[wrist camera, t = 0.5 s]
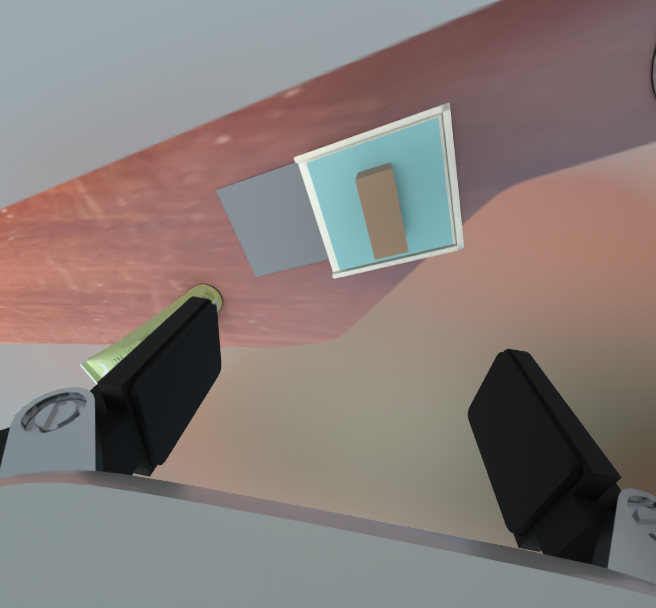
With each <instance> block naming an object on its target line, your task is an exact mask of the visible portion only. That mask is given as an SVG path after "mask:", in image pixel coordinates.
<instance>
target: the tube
mask: <svg viewBox="0 0 656 608" xmlns="http://www.w3.org/2000/svg"><path fill="white" fill-rule="evenodd" d="M192 296H195V297H201V298H207V299H210V300H211V301H212V304H215V305H216V306H217V312H218V311H219V310H220V308H221V306H222V299H221V296H220V294H219V293H218V292H217V291H216V290H215V289H214V288H213V287H211V286H209V285H205V284H200V285H197V286H195V287H194V288H192V289H191V290H190V291H188V292H187V293H186V294H184V295H183V296H182V297H180V298H179V299H178V300H176V301H175V302H174V303H172V304H171V305H170V306H168V307H167V308H165V309H164V310H163V311H161V312H160V313H159V314H157V315H156V316H154V317H153V318H151V319H150V320H149V321H147V322H146V323H144V324H143V325H141V326H140V327H139V328H137V329H136V330H134V331H133V332H131V333H130V334H128V335H127V336H125V337H124V338H122V339H120V340H119V341H117V342H116V343H114V344H113V345H111V346H110V347H108V348H107V349H105V350H103V351H101V352H100V353H98V354H96V355H94V356H92V357H90V358H88V359H87V360H85V361H84V362H82V363H81V364H80V366H81V367H82V368H83V369H84V370H85V371H86V373H87V374H88V375H89V376H90V377H91V378H92V379H93V381H94V382H95V383H96V384H97V382H98V381H99V380H100V379H101V378H103V377H104V376H105V375H106V374H107V373H108V372H109V371H110V370H111V369H112V368H113V367H115V366H116V365H117V364H118V363H119V362H120V361H121V360H122V359H123V358H124V357H126V356H127V355H128V354H129V353H130V352H131V351H132V350H133V349H134V348H135V347H136V346H138V345H139V344H140V343H141V342H142V341H143V340H144V339H145V338H146V337H147V336H149V335H150V334H151V333H152V332H153V331H154V330H155V329H156V328H157V327H158V326H160V325H161V324H162V323H163V322H164V321H165V320H166V319H167V318H168V317H169V316H170V315H172V314H173V313H174V312H175V311H176V310H177V309H178V308H179V307H180V306H181V305H183V304H184V303H185V302H186V301H187V300H188V299H189V298H190V297H192Z"/></svg>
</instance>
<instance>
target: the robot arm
mask: <svg viewBox="0 0 656 608" xmlns="http://www.w3.org/2000/svg"><path fill="white" fill-rule="evenodd" d="M653 83H654V89H655V93H656V55H655V59H654V66H653ZM220 371H221V352H220V340H219V328H218V315H217V306H216V305H215V304H212V301H211V300H210V299H207V298H201V297H195V296H192V297H190V298H189V299H188V300H187V301H186V302H185V303H184V304H183V305H181V306H180V307H179V308H178V309H177V310H176V311H175V312H174V313H173V314H172V315H170V316H169V317H168V318H167V319H166V320H165V321H164V322H163V323H162V324H161V325H160V326H158V327H157V328H156V329H155V330H154V331H153V332H152V333H151V334H150V335H149V336H147V337H146V338H145V339H144V340H143V341H142V342H141V343H140V344H139V345H138V346H136V347H135V348H134V349H133V350H132V351H131V352H130V353H129V354H128V355H127V356H126V357H124V358H123V359H122V360H121V361H120V362H119V363H118V364H117V365H116V366H115V367H113V368H112V369H111V370H110V371H109V372H108V373H107V374H106V375H105V376H104V377H103V378H101V379H100V380H99V381H98V382H97V385H96V386H95V387H94V388H93V389H92V390H90V391H89V390H87V389H83V388H64V389H59V390H56V391H53V392H50V393H47V394H44V395H42V396H40V397H39V398H36V399H34V400H33V401H31V402H30V403H29V404H27V405H26V406H24V407H23V408H22V409H21V410H20V411H19V412H18V413H17V414H16V416H15V417H14V419H13V421H12V423H11V426H10V427H9V428H6V429H3V430H0V608H656V497H655V496H653V495H651V494H649V493H646V492H643V491H640V490H638V489H629V488H628V489H625V490H622V491H621V489H620V488H619V487H618V485H617V484H616V482H617V481H618V480H619V479H621V476H620V475H619V473H618V472H617V471H616V470H615V468H614V467H613V465H612V464H611V463H610V461H609V460H608V459H607V457H606V456H605V455H604V453H603V452H602V451H601V449H600V448H599V446H598V445H597V444H596V442H595V441H594V440H593V438H592V437H591V436H590V434H589V433H588V432H587V430H586V429H585V428H584V426H583V425H582V424H581V422H580V421H579V420H578V418H577V417H576V415H575V414H574V413H573V411H572V410H571V409H570V407H569V406H568V405H567V403H566V402H565V401H564V400H563V398H562V397H561V395H560V394H559V393H558V391H557V390H556V389H555V387H554V386H553V385H552V383H551V382H550V380H549V379H548V378H547V376H546V375H545V374H544V372H543V371H542V370H541V368H540V367H539V366H538V364H537V363H536V362H535V360H534V359H533V357H532V356H531V355H530V354H529V353H528V352H525V351H519V350H513V349H506V350H505V351H504V352H500V353H499V354H498V355H497V356H496V358H495V360H494V362H493V364H492V366H491V368H490V370H489V372H488V373H487V375H486V377H485V379H484V381H483V383H482V385H481V386H480V388H479V390H478V392H477V394H476V396H475V398H474V400H473V402H472V403H471V405H470V407H469V410H468V419H469V422H470V425H471V428H472V431H473V433H474V437H475V439H476V442H477V445H478V448H479V451H480V454H481V456H482V459H483V462H484V465H485V468H486V470H487V473H488V476H489V479H490V482H491V484H492V487H493V490H494V493H495V496H496V499H497V501H498V504H499V507H500V510H501V512H502V515H503V518H504V521H505V524H506V526H507V528H508V530H509V531H510V532H512V533H513V534H514V536H515V539H516V542H517V545H518V547H519V548H523V549H528V550H533V551H538V552H540V551H541V550H542V552H543V554H540V553H536V552H531V551H526V550H522V549H516V548H512V547H506V546H502V545H497V544H492V543H487V542H482V541H477V540H471V539H466V538H461V537H456V536H451V535H446V534H441V533H436V532H431V531H426V530H421V529H416V528H411V527H406V526H401V525H395V524H390V523H385V522H380V521H375V520H369V519H365V518H360V517H354V516H349V515H344V514H338V513H333V512H328V511H323V510H318V509H313V508H307V507H302V506H297V505H292V504H287V503H281V502H276V501H271V500H266V499H260V498H255V497H249V496H244V495H239V494H234V493H228V492H223V491H217V490H212V489H207V488H202V487H196V486H191V485H185V484H179V483H173V482H167V481H161V480H155V479H150V478H144V477H137V476H132V474H133V473H135V474H140V475H145V476H150V475H151V474H152V472H153V471H154V469H155V468H156V466H157V465H162V464H163V463H164V462H165V461H166V459H167V458H168V456H169V454H170V453H171V451H172V449H173V448H174V446H175V445H176V443H177V441H178V440H179V438H180V437H181V435H182V434H183V432H184V430H185V429H186V427H187V426H188V424H189V422H190V421H191V419H192V418H193V416H194V414H195V413H196V411H197V409H198V408H199V406H200V404H201V403H202V401H203V400H204V398H205V396H206V395H207V393H208V392H209V390H210V388H211V387H212V385H213V384H214V382H215V381H216V379H217V377H218V375H219V373H220Z"/></svg>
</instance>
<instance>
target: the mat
mask: <svg viewBox="0 0 656 608" xmlns="http://www.w3.org/2000/svg"><path fill="white" fill-rule="evenodd" d="M216 191H217V194H218V196H219V198H220V200H221V202H222V205H223V207H224V209H225V211H226V213H227V215H228V218H229V220H230V222H231V224H232V226H233V229H234V231H235V233H236V235H237V237H238V239H239V242H240V244H241V246H242V248H243V250H244V252H245V255H246V257H247V259H248V261H249V263H250V266H251V268H252V270H253V272H254V274H255V276H256V277H259V276H263V275H267V274H271V273H275V272H279V271H283V270H287V269H291V268H295V267H299V266H303V265H307V264H311V263H315V262H319V261H323V260H327V259H329V258H328V254H327V251H326V248H325V245H324V242H323V239H322V236H321V233H320V230H319V227H318V224H317V221H316V218H315V214H314V211H313V208H312V205H311V202H310V199H309V196H308V193H307V190H306V187H305V184H304V181H303V177H302V174H301V171H300V168H299V165H298V163H292V164H289V165H287V166H284V167H281V168H278V169H275V170H272V171H269V172H267V173H264V174H261V175H258V176H255V177H252V178H249V179H247V180H244V181H241V182H238V183H235V184H232V185H229V186H227V187H224V188H221V189H218V190H216Z"/></svg>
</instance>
